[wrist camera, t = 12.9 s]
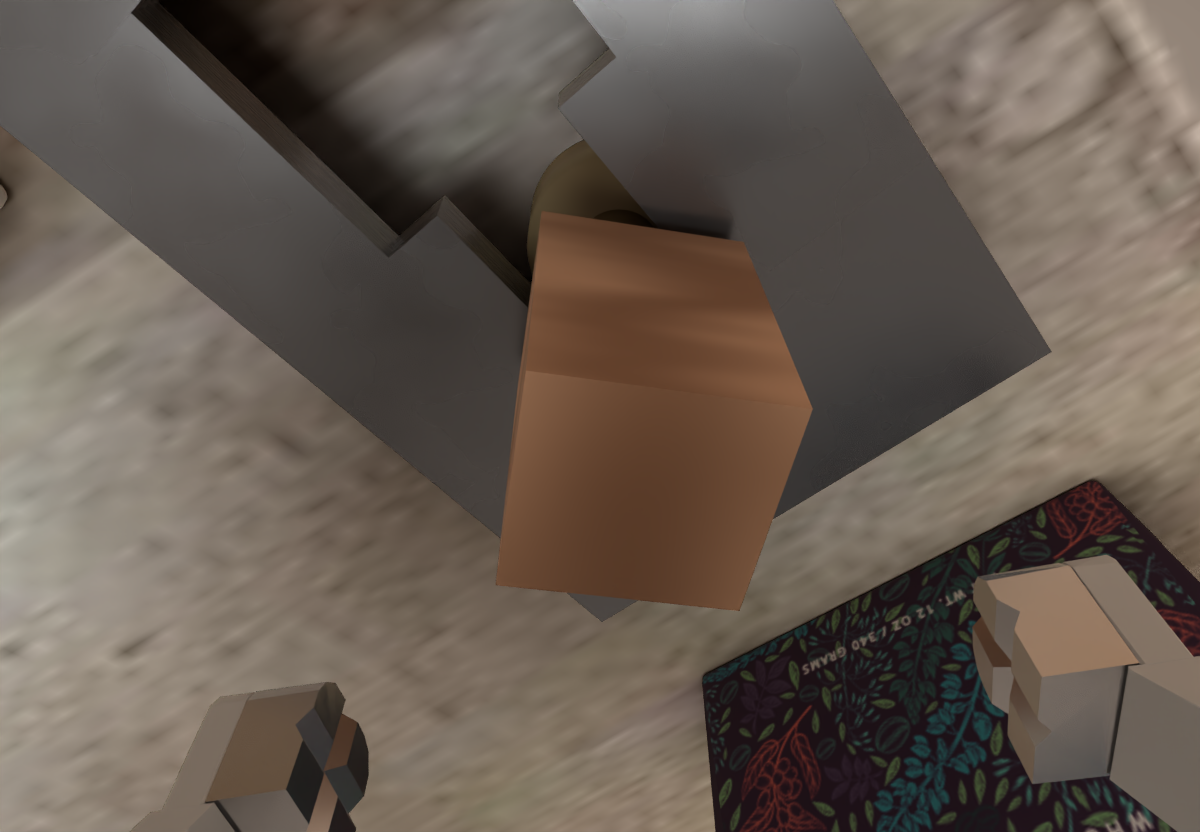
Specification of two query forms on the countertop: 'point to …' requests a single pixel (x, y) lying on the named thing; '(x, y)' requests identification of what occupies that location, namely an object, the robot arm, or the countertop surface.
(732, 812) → the decorative box
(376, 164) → the countertop surface
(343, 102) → the countertop surface
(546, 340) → the slider
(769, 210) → the keyhole plate
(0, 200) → the medicine bottle
